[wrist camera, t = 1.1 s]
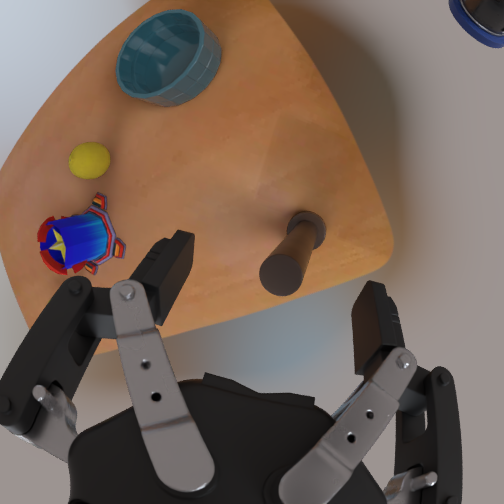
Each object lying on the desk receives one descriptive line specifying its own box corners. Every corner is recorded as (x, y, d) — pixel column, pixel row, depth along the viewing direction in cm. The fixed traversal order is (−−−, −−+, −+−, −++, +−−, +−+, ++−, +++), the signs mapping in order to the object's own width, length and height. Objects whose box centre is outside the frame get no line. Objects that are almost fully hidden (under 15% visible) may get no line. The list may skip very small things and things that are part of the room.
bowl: (175, 18, 30) (155, 2, 25) (242, 45, 29) (226, 24, 24) (127, 86, 35) (101, 78, 29) (184, 123, 34) (159, 115, 28)
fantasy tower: (67, 219, 44) (15, 230, 33) (103, 187, 40) (43, 193, 29) (90, 278, 45) (40, 300, 34) (130, 255, 41) (73, 278, 30)
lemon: (124, 166, 38) (86, 166, 31) (102, 184, 40) (65, 188, 32) (113, 136, 37) (76, 132, 30) (93, 156, 39) (56, 155, 32)
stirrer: (304, 203, 32) (274, 222, 16) (333, 227, 32) (333, 272, 16) (281, 232, 34) (231, 278, 18) (310, 255, 34) (285, 323, 17)
